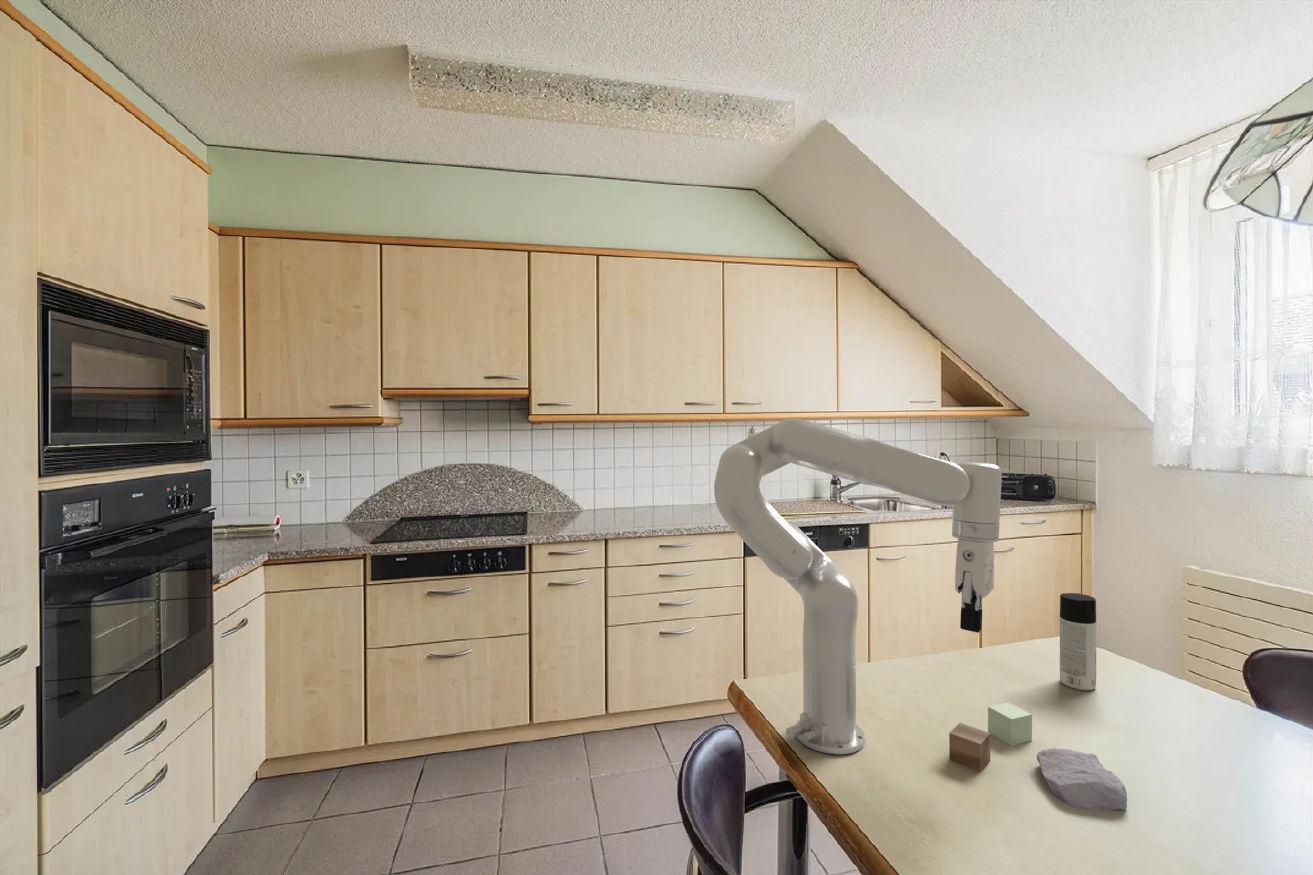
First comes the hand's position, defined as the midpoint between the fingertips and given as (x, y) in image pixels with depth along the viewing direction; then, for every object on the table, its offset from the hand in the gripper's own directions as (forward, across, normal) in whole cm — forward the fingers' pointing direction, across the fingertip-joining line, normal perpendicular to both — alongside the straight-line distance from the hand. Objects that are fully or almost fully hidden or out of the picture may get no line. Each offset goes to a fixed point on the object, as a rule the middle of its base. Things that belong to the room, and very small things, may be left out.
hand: (970, 629), depth 106 cm
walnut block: (+21, -6, -2) cm, 22 cm away
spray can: (+20, +42, -14) cm, 48 cm away
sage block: (+21, +8, -6) cm, 23 cm away
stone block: (+21, -3, -17) cm, 27 cm away
